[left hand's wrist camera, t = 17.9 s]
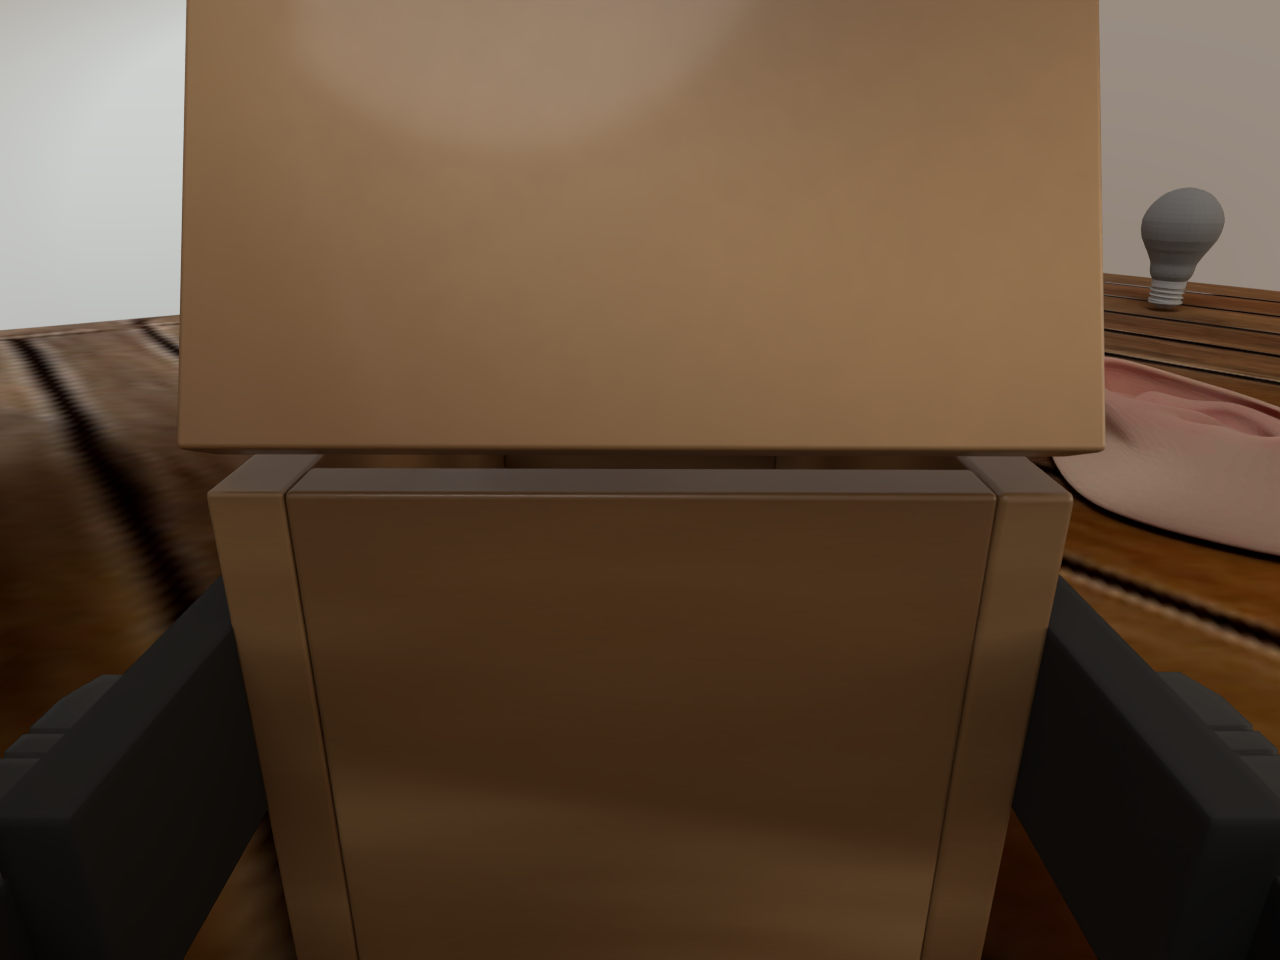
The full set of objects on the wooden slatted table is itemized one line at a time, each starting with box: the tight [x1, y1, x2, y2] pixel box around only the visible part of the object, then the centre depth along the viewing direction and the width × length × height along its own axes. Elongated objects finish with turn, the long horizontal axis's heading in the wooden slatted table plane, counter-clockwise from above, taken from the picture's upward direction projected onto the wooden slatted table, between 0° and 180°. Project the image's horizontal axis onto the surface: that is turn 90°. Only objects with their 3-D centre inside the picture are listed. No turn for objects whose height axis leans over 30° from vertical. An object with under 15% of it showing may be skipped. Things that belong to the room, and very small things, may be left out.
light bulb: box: [1141, 188, 1224, 308], centre depth 74 cm, size 6×6×10 cm
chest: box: [207, 454, 1073, 960], centre depth 19 cm, size 16×10×10 cm, turn 0°
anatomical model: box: [1053, 357, 1280, 556], centre depth 34 cm, size 13×4×12 cm
